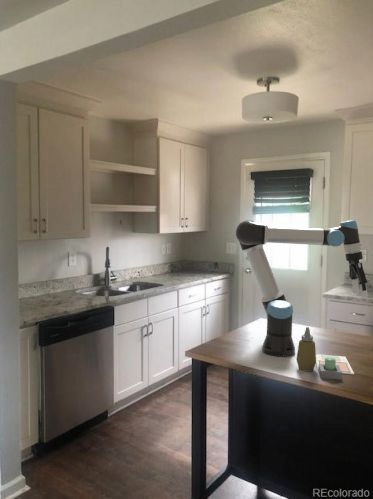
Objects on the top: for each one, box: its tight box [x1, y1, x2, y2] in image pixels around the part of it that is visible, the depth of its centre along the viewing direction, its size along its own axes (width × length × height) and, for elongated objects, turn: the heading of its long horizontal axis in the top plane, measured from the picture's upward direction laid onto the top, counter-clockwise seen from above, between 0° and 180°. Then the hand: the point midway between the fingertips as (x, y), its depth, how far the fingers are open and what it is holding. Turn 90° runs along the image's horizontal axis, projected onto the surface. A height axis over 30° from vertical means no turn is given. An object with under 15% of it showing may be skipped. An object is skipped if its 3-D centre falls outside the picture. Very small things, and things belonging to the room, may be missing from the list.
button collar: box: [317, 364, 343, 381], centre depth 172 cm, size 8×8×3 cm
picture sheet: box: [315, 353, 355, 375], centre depth 185 cm, size 14×21×1 cm, turn 169°
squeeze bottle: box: [296, 326, 317, 372], centre depth 178 cm, size 8×8×18 cm
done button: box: [324, 358, 336, 371], centre depth 172 cm, size 4×4×5 cm
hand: (360, 294), depth 207 cm, fingers open, 13 cm apart
